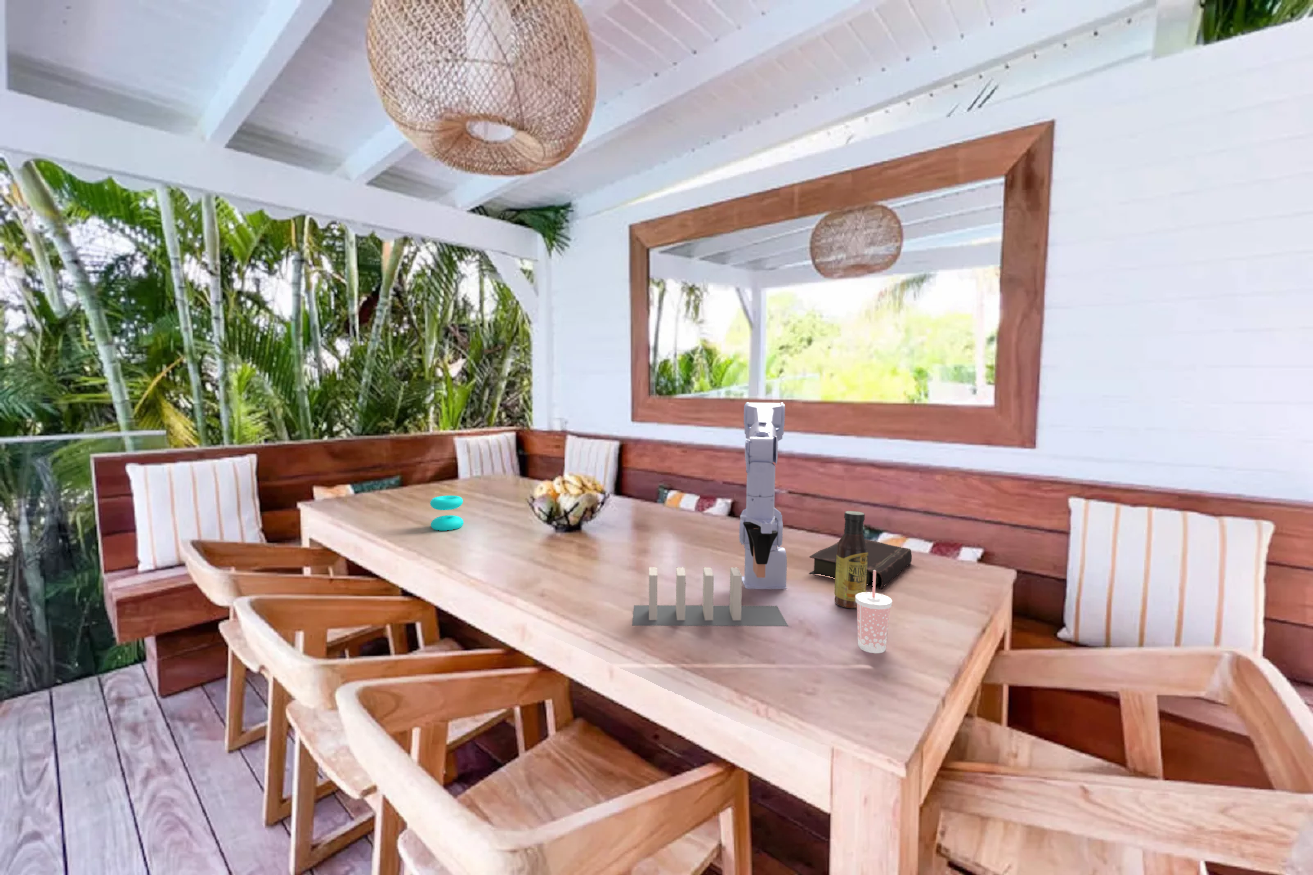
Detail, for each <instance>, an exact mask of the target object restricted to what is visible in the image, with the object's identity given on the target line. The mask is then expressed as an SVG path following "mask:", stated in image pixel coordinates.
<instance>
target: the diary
mask: <svg viewBox="0 0 1313 875" xmlns="http://www.w3.org/2000/svg"><path fill="white" fill-rule="evenodd" d="M864 540H865V544H866V548H867V551H868V561H867V577H866V584H869V583H870V584H871V582H872V581H873V570H876V585H877V584H879V583H880V582H881V583H880V585H879V587H878V589H879V588H880V590H882V589H883V588H884V587H885V586H886V585H887V584H888V583H889V582H890V581H892V580H893V579H894V578H896V577H897V576H898V575H899V574H900V573H901V572H902V571H903V570H904V569H906V568H907V567H908V566H910V565H911V563H912V560H913V557H912V555H913V554H912V550H911V548H908V547H901V546H897V545H891V544H888V543H884V542H879V541H875V540H868V539H865V538H864ZM838 542H839V541H837V542H836V543H834V544H832V545H830V546H829V547H825V548H822V549H819V550H818V551H816V552H814V553H813V554H812V555H810V556H809V558H810V559H814V562H813V570H812V571H809V573H808V575H811V574H821V575H825V576H830V577H833V578H835V576H836V559H837V551H838ZM907 565H908V566H907ZM906 566H907V567H906ZM903 568H904V569H903ZM901 570H902V571H901ZM900 571H901V572H900ZM899 572H900V573H899ZM898 573H899V574H898ZM897 574H898V575H897ZM896 575H897V576H896ZM833 578H831V579H830V580H834V579H833ZM892 578H893V579H892ZM891 579H892V580H891ZM886 583H887V584H886ZM870 584H869V585H870ZM885 584H886V585H885ZM884 585H885V586H884ZM872 586H873V582H872V584H871V587H872ZM883 586H884V587H883ZM882 587H883V588H882ZM881 588H882V589H881Z"/></svg>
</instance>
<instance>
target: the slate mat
mask: <svg viewBox="0 0 1313 875" xmlns="http://www.w3.org/2000/svg"><path fill="white" fill-rule="evenodd" d="M631 625H632V626H635V627H636V626H640V627H641V626H645V627H647V626H653V627H654V626H656V627H657V626H660V627H662V626H665V627H666V626H667V627H669V626H671V627H673V626H674V627H684V626H685V627H686V626H687V627H689V626H690V627H693V626H694V627H698V626H699V627H789V624H788V623H787V620H786V619H785V618H784V615H783V614H782V612H781V610H780V608H779V606H778V605H741V620H733V619H732V616H731V613H730V605H713V620H705V618H704V614H703V605H694V604H693V605H687V604H685V620H677V616H676V604H675V605H671V604H670V605H665V604H663V605H662V604H661V605H658V604H657V620H649V604H648V605H647V604H646V605H643V604H640V605H639V604H638V605H637V604H636V605H635V604H634V605H633V611H632V624H631Z"/></svg>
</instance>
